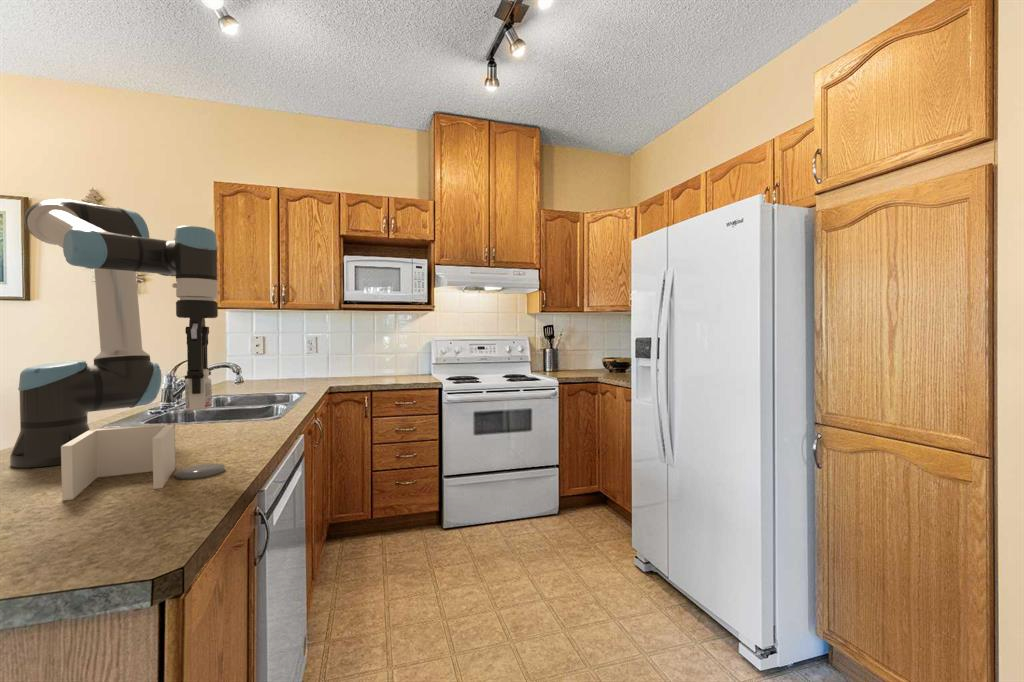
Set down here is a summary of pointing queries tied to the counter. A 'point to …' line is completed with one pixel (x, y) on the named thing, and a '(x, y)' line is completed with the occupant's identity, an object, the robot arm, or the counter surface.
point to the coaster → (199, 471)
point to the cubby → (117, 456)
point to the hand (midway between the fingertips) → (198, 406)
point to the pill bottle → (207, 391)
